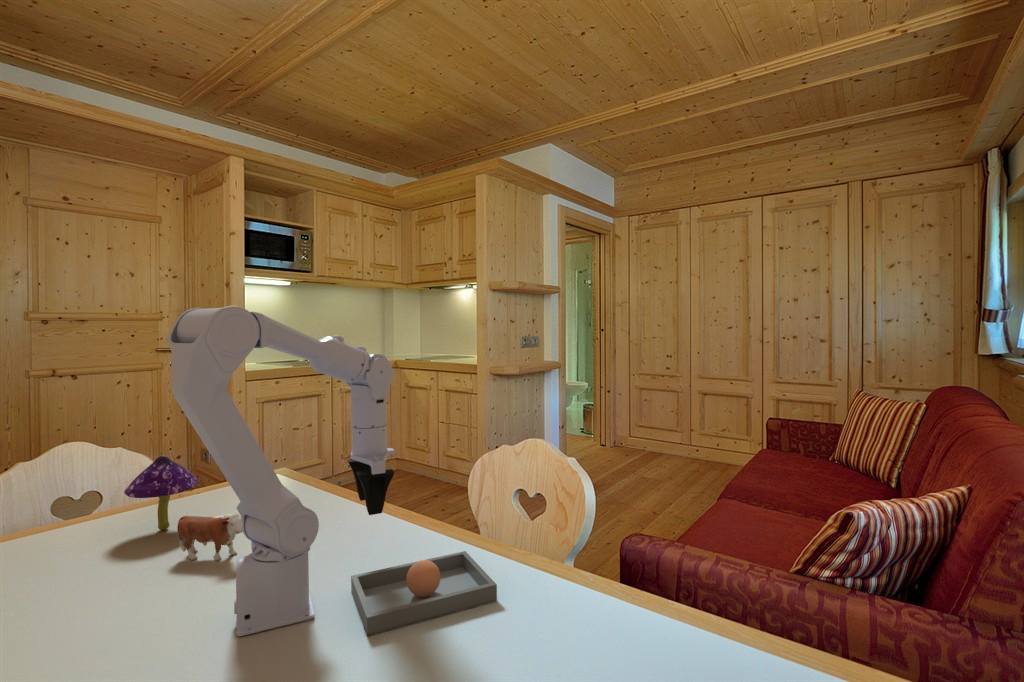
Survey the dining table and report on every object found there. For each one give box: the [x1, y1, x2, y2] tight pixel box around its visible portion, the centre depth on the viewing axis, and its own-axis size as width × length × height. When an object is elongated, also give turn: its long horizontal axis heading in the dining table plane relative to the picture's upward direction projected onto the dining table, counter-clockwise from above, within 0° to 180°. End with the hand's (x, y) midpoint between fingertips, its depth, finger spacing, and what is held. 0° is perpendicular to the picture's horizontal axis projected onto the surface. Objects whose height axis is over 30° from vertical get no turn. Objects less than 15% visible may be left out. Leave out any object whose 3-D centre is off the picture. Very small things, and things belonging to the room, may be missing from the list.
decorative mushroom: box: [123, 455, 200, 531], centre depth 102 cm, size 12×12×15 cm
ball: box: [406, 559, 440, 597], centre depth 76 cm, size 5×5×5 cm
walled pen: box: [350, 550, 498, 637], centre depth 76 cm, size 19×13×2 cm
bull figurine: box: [176, 513, 243, 562], centre depth 90 cm, size 4×13×8 cm, turn 78°
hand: (370, 506), depth 85 cm, fingers open, 7 cm apart
